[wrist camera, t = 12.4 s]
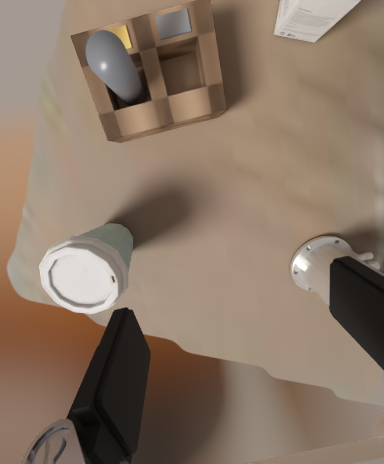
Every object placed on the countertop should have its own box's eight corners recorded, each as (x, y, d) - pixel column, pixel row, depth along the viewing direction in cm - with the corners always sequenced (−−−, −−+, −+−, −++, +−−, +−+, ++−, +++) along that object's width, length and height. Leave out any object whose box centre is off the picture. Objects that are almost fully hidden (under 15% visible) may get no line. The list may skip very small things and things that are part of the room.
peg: (141, 73, 28) (119, 24, 17) (149, 103, 29) (133, 74, 19) (116, 80, 28) (78, 36, 18) (125, 109, 29) (95, 84, 19)
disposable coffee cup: (96, 266, 40) (51, 327, 26) (77, 214, 36) (11, 252, 22) (150, 258, 40) (134, 314, 26) (136, 204, 36) (108, 236, 22)
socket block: (203, 25, 28) (209, -9, 22) (218, 117, 32) (227, 108, 26) (91, 56, 28) (68, 31, 23) (120, 142, 32) (107, 140, 27)
